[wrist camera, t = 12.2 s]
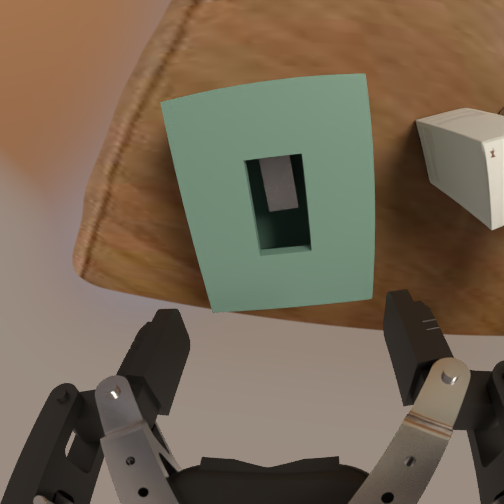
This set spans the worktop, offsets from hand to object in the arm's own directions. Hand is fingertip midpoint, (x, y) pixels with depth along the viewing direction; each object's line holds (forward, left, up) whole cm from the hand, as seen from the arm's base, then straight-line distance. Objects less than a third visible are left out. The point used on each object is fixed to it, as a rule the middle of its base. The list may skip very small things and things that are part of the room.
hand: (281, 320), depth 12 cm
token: (0, -1, -21) cm, 21 cm away
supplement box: (-19, -2, -23) cm, 29 cm away
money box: (0, 0, -22) cm, 22 cm away
